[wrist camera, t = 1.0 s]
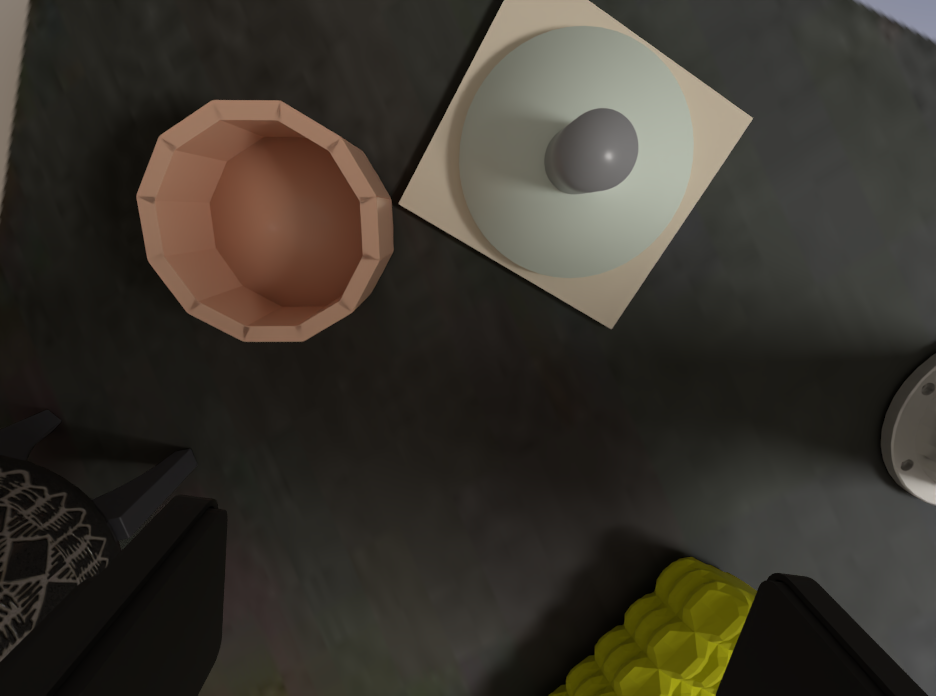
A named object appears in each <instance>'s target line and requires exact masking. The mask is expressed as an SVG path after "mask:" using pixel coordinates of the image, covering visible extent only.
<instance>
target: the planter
mask: <svg viewBox="0 0 936 696" xmlns="http://www.w3.org/2000/svg"><path fill="white" fill-rule="evenodd" d="M61 422H62V421H61V420H60V419H59V418H58V417H56V416H55V415H54V414H53V413H51V412H50V411H49V410H45V411H43V412H40V413H38V414H36V415H33V416H31V417H29V418H26V419H24V420H22V421H19V422H17V423H15V424H12V425H10V426H8V427H5V428H3V429H1V430H0V662H1V661H2V660H3V659H4V658H5V657H6V656H7V655H8V654H9V653H10V652H11V651H12V650H13V649H14V648H15V647H16V646H17V645H18V644H19V643H20V642H21V641H22V640H23V639H24V638H25V637H26V636H27V635H28V634H29V633H30V632H31V631H32V630H33V629H34V628H35V627H36V626H37V625H38V624H39V623H40V622H41V621H42V620H43V619H44V618H45V617H46V616H47V615H48V614H49V613H50V612H51V611H52V610H53V609H54V608H55V607H56V606H57V605H58V604H59V603H60V602H61V601H62V600H63V599H64V598H65V597H66V596H67V595H68V594H69V593H70V592H71V591H72V590H73V589H74V588H75V587H76V586H78V585H79V584H80V583H81V582H82V581H84V580H85V579H88V578H90V577H93V576H96V577H97V576H98V575H99V574H100V573H101V572H102V571H103V570H104V569H105V568H106V567H107V565H108V564H109V563H110V562H111V561H112V560H113V559H114V558H115V557H116V556H117V555H118V554H119V553H120V552H121V548H120V544H119V541H118V540H122V539H127V538H130V537H131V536H132V535H133V534H134V533H135V532H136V531H137V529H138V528H139V527H140V526H141V525H142V524H143V523H144V522H145V521H146V520H147V519H148V518H149V517H150V516H151V515H152V513H153V512H154V511H155V510H156V509H157V508H158V507H159V506H160V505H161V504H162V503H163V502H164V501H165V500H166V499H167V497H168V496H169V495H170V494H171V493H172V492H173V491H174V490H175V489H176V488H177V487H178V486H179V485H180V484H181V483H182V481H183V480H184V479H185V478H186V477H187V476H188V475H189V474H190V473H191V472H192V471H193V470H194V469H195V468H196V466H197V462H196V460H195V457H194V455H193V452H192V450H191V449H186V450H181V451H176V452H174V453H173V454H171V455H170V456H169V457H167V458H166V459H165V460H163V461H162V462H161V463H159V464H158V465H156V466H155V467H153V468H152V469H150V470H149V471H147V472H146V473H144V474H142V475H141V476H139V477H137V478H136V479H134V480H132V481H130V482H128V483H127V484H125V485H123V486H121V487H119V488H117V489H115V490H113V491H111V492H109V493H106V494H104V495H102V496H100V497H98V498H95V499H93V500H91V499H90V498H89V497H88V496H87V495H86V494H85V493H83V492H82V491H81V490H80V489H79V488H78V487H76V486H75V485H73V484H72V483H70V482H69V481H68V480H66V479H65V478H63V477H62V476H60V475H58V474H56V473H54V472H52V471H50V470H48V469H46V468H44V467H41V466H39V465H36V464H33V463H31V462H28V461H27V458H28V456H29V454H30V452H31V450H32V449H33V447H34V446H35V445H36V444H37V443H38V442H39V441H41V440H42V439H43V438H45V437H46V436H47V435H48V434H50V433H51V432H52V431H53V430H54V429H55V428H56V427H57V426H58V425H59V424H60V423H61Z"/></svg>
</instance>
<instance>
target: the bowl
mask: <svg viewBox="0 0 936 696" xmlns="http://www.w3.org/2000/svg"><path fill="white" fill-rule="evenodd" d="M136 198H137V203H138V209H139V215H140V220H141V226H142V232H143V237H144V243H145V248H146V254H147V260H149V261H148V262H149V263H150V265H151V266H152V267H153V268H154V270H155V271H156V272H157V274H158V275H159V276H160V278H161V279H162V280H163V282H164V283H165V284H166V286H167V287H168V288H169V290H170V291H171V292H172V293H173V295H174V296H175V297H176V299H177V300H178V301H179V303H180V304H181V305H182V307H183V308H184V309H185V311H186V312H187V313H188V312H189V313H188V314H190V315H192V316H194V317H196V318H198V319H200V320H202V321H204V322H206V323H208V324H210V325H212V326H214V327H216V328H217V329H219V330H221V331H223V332H225V333H227V334H229V335H231V336H233V337H235V338H237V339H239V340H241V341H243V342H303V341H305V340H307V339H308V338H310V337H312V336H314V335H315V334H317V333H319V332H320V331H322V330H324V329H325V328H327V327H329V326H331V325H332V324H334V323H336V322H337V321H339V320H341V319H342V318H344V317H346V316H347V315H349V314H351V313H352V312H353V311H354V310H355V309H356V308H357V307H358V306H359V305H360V304H361V303H362V302H363V301H364V300H365V299H366V298H367V297H368V296H369V295H370V294H371V293H372V291H373V289H374V287H375V286H376V284H377V282H378V280H379V278H380V276H381V275H382V273H383V271H384V269H385V267H386V265H387V263H388V261H389V259H390V257H391V255H392V253H393V251H394V246H393V216H392V200H391V197H390V196H389V194H388V192H387V191H386V189H385V187H384V186H383V184H382V182H381V180H380V178H379V176H378V174H377V173H376V172H375V170H374V169H373V167H372V165H371V164H370V162H369V160H368V159H367V157H366V155H365V154H364V152H363V151H362V150H360V149H358V148H357V147H355V146H354V145H352V144H351V143H349V142H348V141H346V140H345V139H343V138H342V137H340V136H339V135H337V134H335V133H334V132H332V131H330V130H329V129H327V128H325V127H324V126H322V125H320V124H319V123H317V122H315V121H314V120H312V119H310V118H309V117H307V116H305V115H304V114H302V113H300V112H299V111H297V110H295V109H294V108H292V107H290V106H289V105H287V104H285V103H284V102H282V101H277V100H213V101H210V102H209V103H207V104H206V105H204V106H203V107H201V108H200V109H198V110H197V111H195V112H194V113H193V114H191V115H190V116H188V117H187V118H185V119H184V120H182V121H181V122H179V123H178V124H176V125H175V126H173V127H172V128H170V129H169V130H167V131H166V132H164V133H163V134H161V135H160V137H159V138H158V140H157V143H156V146H155V148H154V151H153V153H152V156H151V159H150V161H149V164H148V166H147V169H146V172H145V174H144V177H143V179H142V182H141V185H140V187H139V190H138V192H137V195H136Z"/></svg>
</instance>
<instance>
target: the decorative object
mask: <svg viewBox="0 0 936 696" xmlns="http://www.w3.org/2000/svg"><path fill="white" fill-rule="evenodd" d="M756 593H757V591H756V590H755V589H753V588H752V587H750V586H749V585H748V584H746V583H745V582H743V581H741V580H740V579H738V578H737V577H735V576H733V575H731V574H729V573H728V572H727V573H725V572H723V571H721V570H719V569H717V568H715V567H714V566H712V565H707V564H705V563H703V562H701V561H699V560H697V559H695V558H693V557H687V558H681V559H678V560H677V561H675V562H672V563H671V564H670V565H669V566H668V567H666V568H665V569H664V570H663V571H662V573H661V574H660V576H659V577H658V578H657V581H656V587H655V590H654V592H652V593H650V594H646V595H644V596H643V597H642V598H640V599H638V600H637V601H635V602H634V603H633V604H632V605H630V607H629V608H628V610H627V611H626V613H625V620H624V624H623V625H618V626H616V627H614V628H613V629H612V630H611V631H609V632H607V633H606V634H605V635H603V636H602V637H601V638H600V639H599V641H598V642H597V644H596V645H595V655H591V656H588V657H587V658H585V659H584V660H583V661H581V662H580V663H579V664H577V665H576V666H575V667H574V668H572V669H571V671H570V672H569V674H568V675H567V677H566V684H564V685H561V686H560V687H558V688H557V689H556V690H555V691H554V692H553V693H551V694H550V695H548V696H716V692H717V689H718V687H719V684H720V682H721V679H722V677H723V674H724V672H725V670H726V667H727V665H728V662H729V660H730V657H731V655H732V652H733V650H734V647H735V645H736V642H737V640H738V637H739V635H740V633H741V630H742V628H743V625H744V623H745V620H746V618H747V615H748V613H749V610H750V608H751V605H752V603H753V601H754V598H755V596H756Z"/></svg>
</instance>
